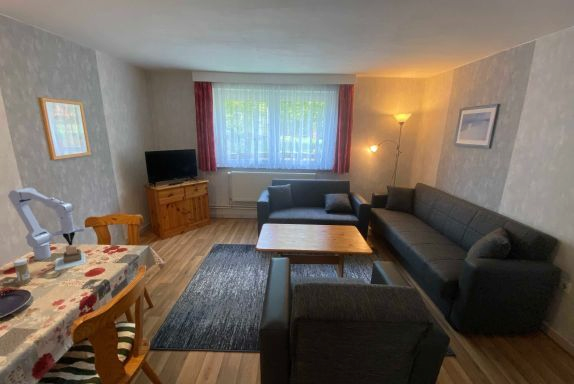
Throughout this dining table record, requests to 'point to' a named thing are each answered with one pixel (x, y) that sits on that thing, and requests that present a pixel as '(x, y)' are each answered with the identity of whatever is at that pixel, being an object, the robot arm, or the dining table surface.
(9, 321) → the dining table surface
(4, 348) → the dining table surface
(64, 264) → the board
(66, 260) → the frame
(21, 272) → the spice jar
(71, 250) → the terracotta block
